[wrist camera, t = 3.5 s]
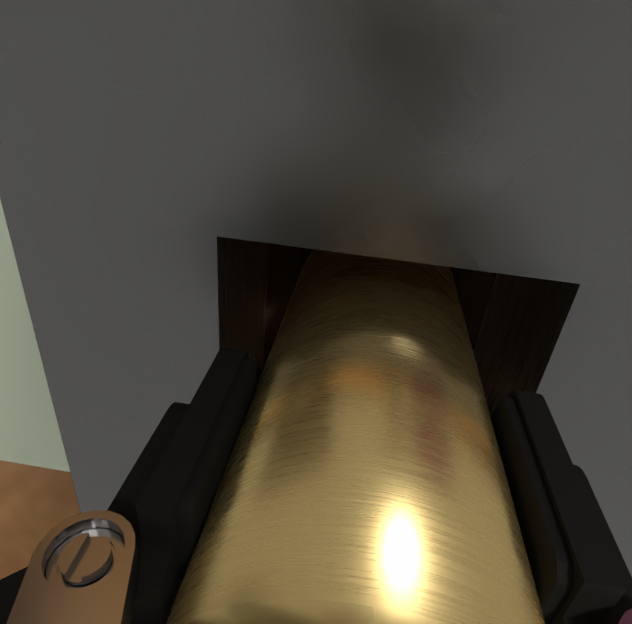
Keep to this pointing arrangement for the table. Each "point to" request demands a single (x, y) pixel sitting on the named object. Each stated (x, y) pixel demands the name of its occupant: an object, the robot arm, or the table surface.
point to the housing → (318, 194)
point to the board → (23, 376)
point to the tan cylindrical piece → (364, 468)
